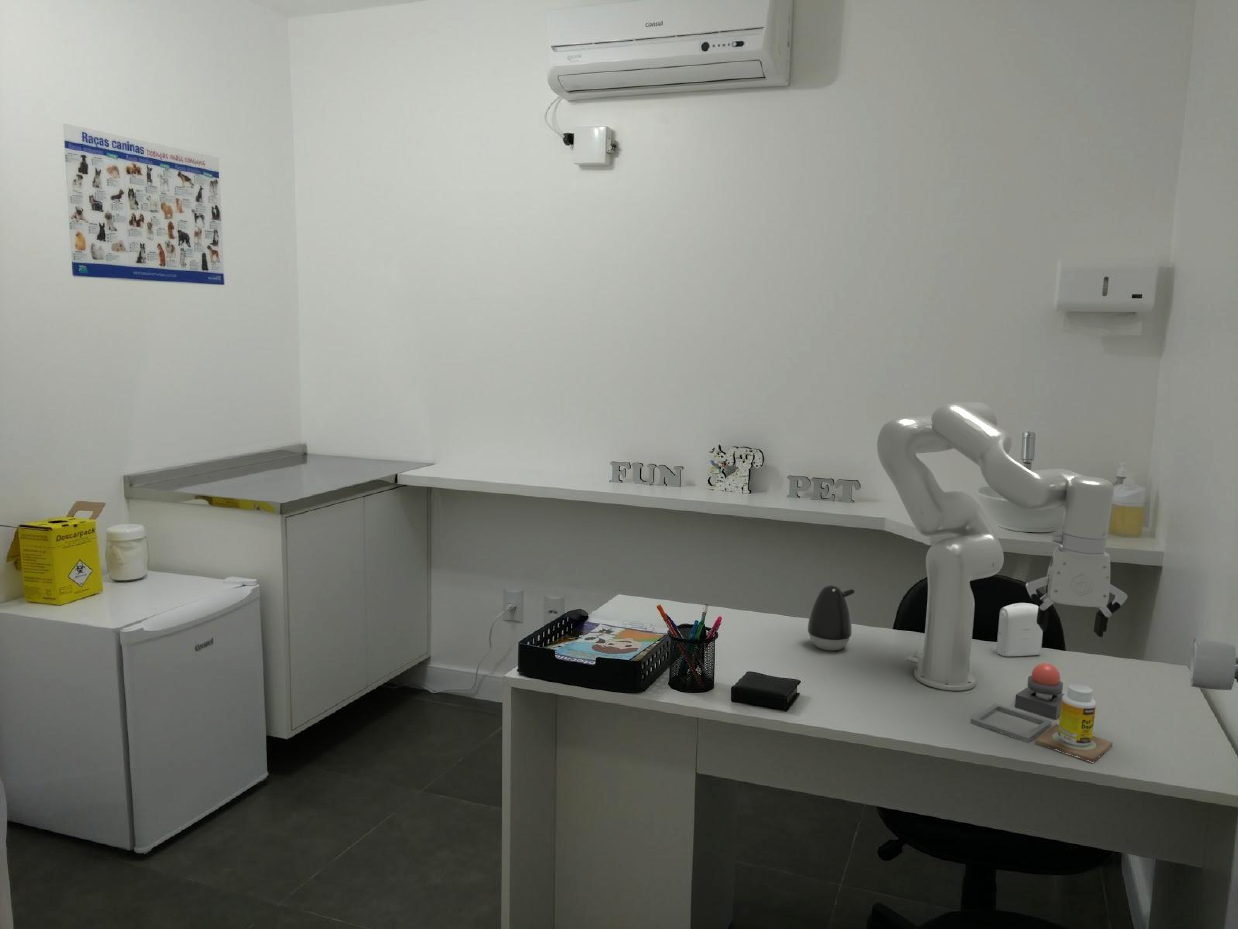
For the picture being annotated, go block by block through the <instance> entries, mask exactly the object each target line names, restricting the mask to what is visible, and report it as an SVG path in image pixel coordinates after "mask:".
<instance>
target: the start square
mask: <svg viewBox="0 0 1238 929" xmlns="http://www.w3.org/2000/svg"><path fill="white" fill-rule="evenodd" d="M997 711H1000V712H1003V713H1006V712H1007V713H1006V714H1009V715H1012V716H1015V715H1016V716H1015V717H1017V718H1018V717H1019V718H1021V719H1025V720H1028V721H1030V722H1034V723H1036V722H1037V724H1038V725H1037V726H1036V727H1035V728H1033V729H1032V730H1030V731H1029V732H1027V733H1026V734H1024V733H1021V732H1018V731H1015V730H1011V729H1009V728H1006V727H1003V726H1000V725H996V724H995V723H991V722H988V721H985V719H986V718H988V717H989V716H991V715H992V714H994V713H995V712H997ZM970 723H971V724H973V725H976V726H980V727H982V726H983V727H982V728H985V727H986V728H985V729H988V730H990V729H993V730H995V731H994V732H996V731H997V733H999V732H1002V733H1004V734H1003V735H1005V734H1006V736H1008V735H1009V737H1011V736H1013V737H1012V738H1014V737H1016V738H1015V739H1017V738H1018V739H1017V740H1019V739H1021V740H1020V741H1022V740H1023V741H1022V742H1025V741H1026V742H1025V743H1030V742H1032V740H1034V739H1035V738H1037V737H1039V735H1040V734H1041V735H1042V734H1043V733H1044V732H1046V731H1047V729H1050V728H1051V727H1052V723H1053V722H1052V721H1051V720H1049V719H1046V718H1042V717H1038V716H1036V715H1033V714H1031V713H1030V714H1029V713H1027V712H1024V711H1020V710H1018V709H1014V708H1012V707H1008V706H1005V705H1002V704H999V703H996V702H995V703H994V704H992V705H991V706H989V707H987V708H986V709H984V710H982V711H981V712H979V713H978V714H976V715H975V716H972V717H971V719H970ZM1039 723H1040V724H1039ZM993 730H992V731H993ZM1002 733H1001V734H1002Z"/></svg>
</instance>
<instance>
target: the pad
mask: <svg viewBox="0 0 1238 929" xmlns="http://www.w3.org/2000/svg"><path fill="white" fill-rule="evenodd" d="M1058 730H1059V723H1058V724H1057V723H1056V724H1054V725H1053V726H1050V727H1049V728H1048V730H1047V729H1046V730H1045V731H1044V732H1043V733H1041V735H1040V736H1037V737H1036V739H1035V740H1034V741H1035V742H1034V744H1035V743H1037V744H1039V745H1038V746H1040V745H1041V747H1043V746H1046V747H1049V748H1051V749H1050V750H1052V749H1057V750H1059V751H1061V752H1064V753H1068V754H1071V755H1073V756H1078V757H1080V758H1082V759H1084V760H1089V761H1091V762H1094V761H1095V760H1096V761H1098V760H1099V759H1100V758H1099V756H1101V755H1102V754H1103V753H1104V754H1105V753H1107V752H1108V751H1109V750H1110V749H1111V748H1112V747H1113V744H1114V742H1113V741H1111V740H1107V739H1103V738H1101V737H1098V736H1094V735H1092V741H1091V743H1090V744H1089V745H1087V746H1076V745H1071V744H1068V743H1066V742H1064V741H1062V740H1061V739H1060V738H1059V736H1058ZM1037 744H1036V745H1037ZM1111 746H1112V747H1111ZM1046 747H1045V748H1046ZM1110 747H1111V748H1110ZM1049 748H1048V749H1049ZM1108 749H1109V750H1108ZM1107 750H1108V751H1107ZM1061 752H1060V753H1061ZM1064 753H1063V754H1064ZM1104 754H1103V755H1104ZM1103 755H1102V756H1103ZM1102 756H1101V757H1102ZM1098 758H1099V759H1098ZM1097 759H1098V760H1097ZM1084 760H1083V761H1084ZM1096 761H1095V762H1096ZM1095 762H1094V763H1095Z"/></svg>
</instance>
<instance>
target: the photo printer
mask: <svg viewBox="0 0 1238 929" xmlns="http://www.w3.org/2000/svg"><path fill="white" fill-rule="evenodd" d="M999 610H1000V611H999V616H998V617H999V619H998V629H997V630H998V631H997V640H996V652H997V654H998V655H999V654H1000V656H1001V655H1002V656H1001V657H1023V656H1025V657H1026V656H1038V655H1039V656H1040V655H1041V653H1042V646H1043V645H1042V644H1043V635H1044V634H1043V632H1044V631H1042V629H1041V628H1040V627H1039V625H1038V624H1037V614H1038V606H1037V604H1035V603H1034V604H1033V603H1026V602H1018V603H1012V604H1009V605H1006V606H1003V607H1002V608H1000V609H999Z"/></svg>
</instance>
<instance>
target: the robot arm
mask: <svg viewBox="0 0 1238 929" xmlns="http://www.w3.org/2000/svg"><path fill="white" fill-rule="evenodd" d="M1012 443H1013V440H1012V437H1011V436H1010V434H1009V432H1007V431H1005V430H1004V429H1002V428H1000V427H999V426H998V419H997V415H996V413H995V411H994V410H993V409H992V407H990V406H989V405H988V404H986V403H983V402H981V401H954V402H953V401H952V402H948V403H944V404H941V406H939V407H937V408H936V409H935V410H934V411H933V413H932V414H926V415H925V414H924V415H920V414H919V415H904V416H897V417H895V418H892V419H890V420H888V421H886V422H885V423H884V424H883V426H882V427H881V429H880V431H879V433H878V436H877V442H876V449H877V456H878V460H879V462H880V464H881V466H882V468H883V469H884V471H885V473H886V474H887V476H888V477H889V479H890V480H891V482H892V484H893V485H894V487H895V490H896V491H897V493H898V496H899V497H900V500H901V502H902V504H903V506H904V509H905V510H906V513H907V514H908V516H909V517H910V520H911V522H912V525H913V526H914V527H915V529H916V531H917V532H918V533H919V534H920V535H922V536H924V537H928V538H930V537H931V538H932V537H933V538H934V537H935V538H938V537H945V536H950V535H951V536H952V537H947V538H943V539H940V540H938V541H936V542H934V543H933V544H932V545H931V546H930V547H929V549H928V550H927V553H926V556H925V570H926V575H927V604H926V615H925V616H926V617H925V627H924V628H925V629H924V640H923V641H924V642H923V652H921V653H920V652H918V651H915V650H912V649H909V650H908V651H907V654H906V657H907V658H906V661H907V662H909V663H914V664H916V665H917V667H916V668H914V673H913V674H914V675H913V676H914V678H915V679H916V681H919V682H920V683H922V684H923V685H926V686H929V687H932V688H935V689H938V690H939V689H940V690H942V691H943V690H944V691H952V692H953V691H957V692H958V691H959V692H960V691H968V690H971V689H972V688H974V687H975V686H976V684H977V679H976V677H975V675H973V674H972V673H971V672H970V665H971V664H970V661H971V652H972V642H973V641H972V640H973V630H974V618H975V605H976V604H975V598H974V593H973V591H972V588H971V583H970V582H971V581H975V580H979V579H984V578H989V577H992V576H994V575H997V574H998V573H999V572H1000V571H1001V569H1002V568H1003V565H1004V562H1005V560H1004V559H1005V556H1004V550H1003V547H1002V545H1001V542H1000V541H999V538H998V537H997V535H996V533H995V531H994V528H993V527H992V526H991V523H990V521H989V520H988V518H987V516H986V515H985V512H984V510H983V509H982V507H981V505H980V504H979V503H978V501H977V500H976V499H975V498H974V497H972V496H971V495H970V494H969V493H967V492H964V491H958V490H954V491H952V490H951V491H945V490H943V489H942V487H941V486H940V484H939V483H938V481H937V479H936V477H935V475H934V473H933V472H932V471H931V469H930V468H929V467H928V466H927V465H926V464H925V463H924V462H923V461H922V460H920V459H919V458H918V456H917V455H916V454H927V453H929V454H930V453H938V452H939V453H940V452H944V451H945V452H946V451H949V450H953V449H954V450H955V451H957V452H959V453H960V454H962V455H963V456H964V457H966V458H967V459H969V461H972V462H973V463H974V464H976V465H977V466H978V467H980V472H981V474H982V477H983V478H984V481H985V482H986V484H987V485H988V486H989V487H990V488H991V490H993V491H994V492H995V493H997V494H998V495H1000V497H1002V498H1004V499H1005V500H1006V501H1008V502H1009V503H1010V504H1012V505H1013V506H1015V507H1017V508H1020V509H1022V510H1025V511H1031V512H1032V511H1033V512H1034V511H1041V510H1049V509H1050V510H1051V509H1063V508H1064V509H1063V517H1062V525H1061V530H1059V533H1058V534H1052V535H1051V542H1052V543H1056V544H1058V545H1057V546H1055V548H1054V550H1053V552H1052V555H1051V559H1050V561H1049V562H1050V563H1049V565H1048V569H1047V573H1046V576H1044V577H1040V578H1038V579H1034V580H1032V581H1029V582H1026V583H1025V588H1026V591H1027V593H1028V595H1029V597H1030V599H1031V600H1032V602H1034V604H1035V605H1037V606H1038V614H1037V624H1038V625H1039V627H1040V628H1041V629H1042V631H1043V632H1046V631H1048V630H1047V629H1048V626H1049V617H1050V611H1049V607H1051V606H1052V605H1053V604H1055V603H1056V604H1058V605H1067V606H1078V607H1085V608H1086V607H1087V608H1095V609H1096V608H1098V611H1096V613H1095V619H1094V625H1093V632H1094V633H1095V634H1096V635H1097V637H1098V638H1103V636H1104V633H1106V632H1107V629H1108V623H1109V622H1108V621H1109V618H1110V617H1112V614H1113V613H1116V612H1117V611H1118V610H1119V609H1121V606H1122V605H1123V604H1125V602H1126V600H1127V599H1128V594H1127V593H1126V592H1124V591H1123V590H1121V589H1119V588H1117V587H1116V586H1114V585H1113V584H1111V557H1110V553H1108V552H1106V546H1107V539H1108V532H1109V531H1108V530H1109V525H1110V519H1111V512H1112V505H1113V498H1114V490H1115V489H1114V485H1113V483H1112V482H1111V481H1110V480H1107V479H1105V478H1101V477H1096V476H1089V475H1087V476H1086V475H1083V474H1080V473H1078V472H1075V471H1072V470H1069V469H1066V468H1046V469H1035V470H1030V469H1029V468H1027V467H1025V466H1024V465H1022V463H1019V462H1018V461H1017V460H1015V459H1014V458H1013V457H1011V456H1010V455H1009V453H1010V451H1011V449H1012V448H1011V447H1012ZM1043 587H1044V594H1043V595H1042V596H1041V597H1040V596H1039V595H1038V593H1037V589H1040V588H1043ZM1110 594H1112V595H1113V596H1115V597H1114V599H1113V600H1111V601H1109V599H1110Z"/></svg>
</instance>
